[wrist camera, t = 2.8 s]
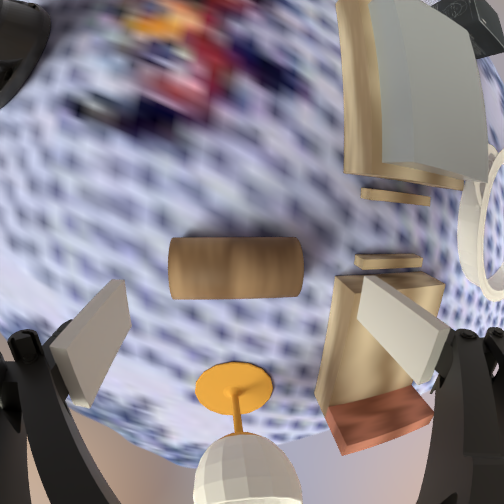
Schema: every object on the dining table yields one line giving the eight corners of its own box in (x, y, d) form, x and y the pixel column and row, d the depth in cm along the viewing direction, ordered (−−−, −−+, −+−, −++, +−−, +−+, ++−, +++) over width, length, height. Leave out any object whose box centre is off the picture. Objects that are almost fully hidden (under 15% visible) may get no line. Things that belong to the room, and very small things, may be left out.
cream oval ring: (529, 216, 30) (546, 221, 25) (486, 316, 33) (503, 327, 29) (470, 99, 23) (494, 96, 18) (414, 229, 26) (443, 239, 22)
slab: (381, 162, 19) (413, 161, 15) (367, 4, 14) (388, -15, 11) (458, 179, 20) (487, 183, 16) (444, 40, 16) (467, 30, 12)
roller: (179, 267, 25) (174, 311, 21) (173, 225, 22) (165, 269, 18) (284, 266, 26) (294, 308, 23) (293, 225, 23) (308, 267, 19)
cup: (208, 352, 27) (209, 491, 11) (285, 370, 29) (330, 491, 13) (186, 405, 28) (181, 520, 13) (255, 418, 30) (276, 525, 15)
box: (452, 67, 21) (508, 52, 11) (423, 43, 20) (479, 19, 10) (451, 31, 19) (498, 13, 9) (422, 9, 18) (469, -17, 8)
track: (314, 393, 30) (341, 455, 20) (335, 4, 18) (379, -46, 8) (391, 377, 32) (428, 424, 22) (420, 36, 20) (474, 11, 10)
